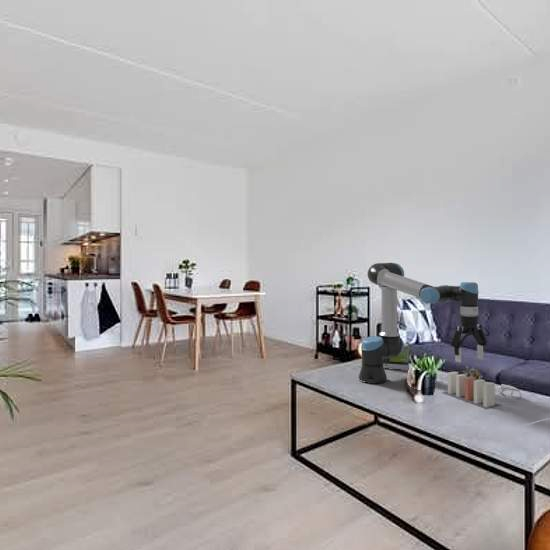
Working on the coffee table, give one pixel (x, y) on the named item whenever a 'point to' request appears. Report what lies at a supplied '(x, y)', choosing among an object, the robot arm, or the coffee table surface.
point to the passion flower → (472, 373)
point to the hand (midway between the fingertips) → (469, 360)
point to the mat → (470, 401)
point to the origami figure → (508, 389)
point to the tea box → (398, 360)
